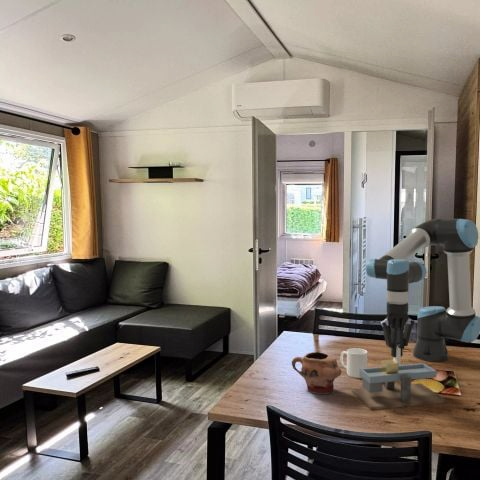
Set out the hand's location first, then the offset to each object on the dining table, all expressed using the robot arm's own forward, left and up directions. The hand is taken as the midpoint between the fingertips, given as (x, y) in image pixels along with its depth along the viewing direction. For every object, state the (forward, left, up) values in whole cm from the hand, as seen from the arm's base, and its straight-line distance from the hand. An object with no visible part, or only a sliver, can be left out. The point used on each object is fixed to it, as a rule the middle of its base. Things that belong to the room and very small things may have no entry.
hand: (396, 365), depth 176 cm
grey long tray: (-1, 0, -8) cm, 8 cm away
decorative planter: (+27, -13, -12) cm, 32 cm away
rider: (+3, 0, -3) cm, 4 cm away
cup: (+6, -26, -12) cm, 30 cm away
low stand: (0, 0, -12) cm, 12 cm away
